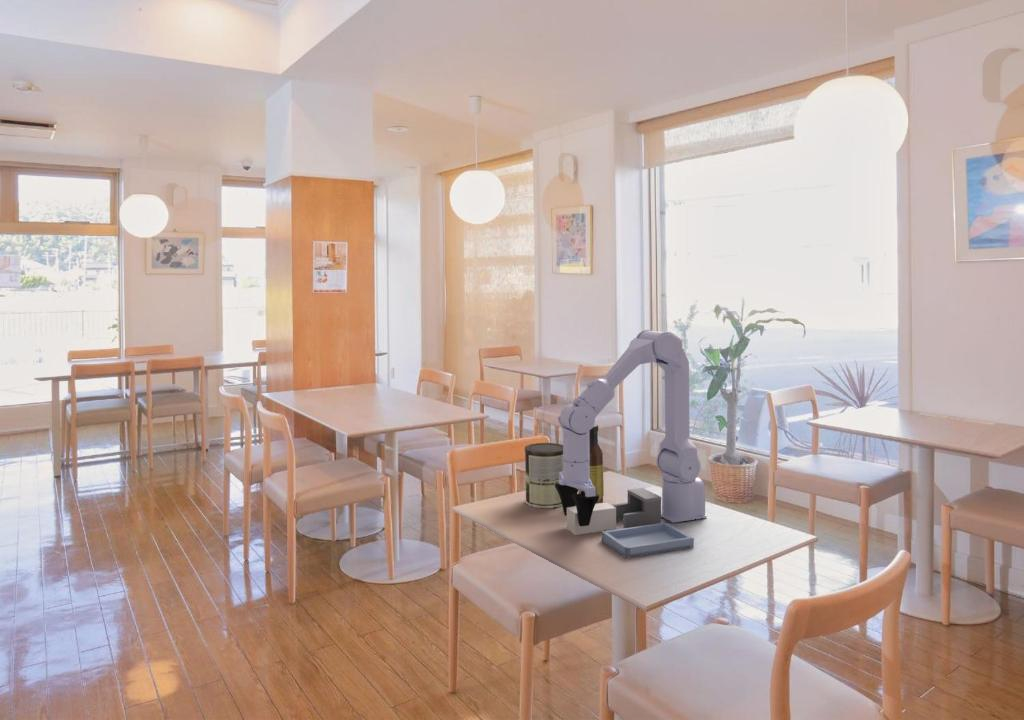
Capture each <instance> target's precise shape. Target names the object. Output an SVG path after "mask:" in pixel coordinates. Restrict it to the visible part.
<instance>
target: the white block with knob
mask: <svg viewBox="0 0 1024 720" xmlns="http://www.w3.org/2000/svg"><path fill="white" fill-rule="evenodd" d="M566 529H567V530H568V531H569V532H570V533H572V534H573V535H575V536H577V535H584V534H585V535H586V534H591V532H592V533H598V531H599V532H603V531H604V530H606V531H610V530H616V529H617V520H616V508H615V507H614V506H612V504H610V503H609V502H603V503H598V504H595V506H594V509H593V512H592V516H591V520H590V523H589V525H588V526H579V522H578V515H577V508H576V505H575V507H567V516H566Z"/></svg>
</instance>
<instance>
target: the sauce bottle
mask: <svg viewBox="0 0 1024 720" xmlns="http://www.w3.org/2000/svg"><path fill="white" fill-rule="evenodd" d="M598 432H599V425H598V424H596V423H594V426H593V428H592V429H590V430H589V472H590V480H591V482H592V484H593V486H594V487H595V493H597V494H598V495H599V499H598V501H597V502H596V504H598V503H604V496H605V494H604V492H605V491H604V489H605V487H604V486H605V485H604V480H605V479H604V461H603V460H604V458H603V457H604V452H603V449H602V448H601V447H600V445H599V439H598V434H599V433H598ZM577 494H581V491H579V490H578V493H577Z"/></svg>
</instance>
